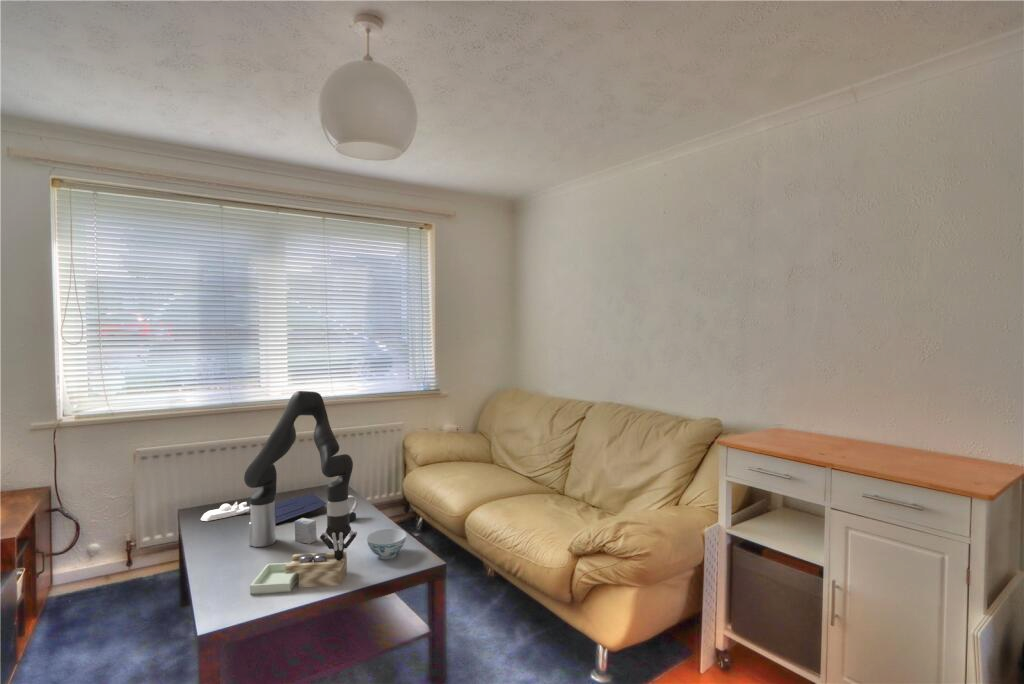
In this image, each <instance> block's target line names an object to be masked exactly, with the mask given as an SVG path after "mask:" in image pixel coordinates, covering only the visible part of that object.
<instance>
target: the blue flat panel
mask: <svg viewBox="0 0 1024 684" xmlns="http://www.w3.org/2000/svg"><path fill="white" fill-rule="evenodd" d="M323 506H327V502H326V501H324V500H323V499H321V498H319V497H318V496H317V495H316V494H314V493H311V494H307V495H306V494H304V495H300V496H297V497H294V498H289V499H287V500H284V501H281V502H278V503H275V525H276V524H279V523H281V522H284V521H287V520H289V519H292V518H295V517H298V516H300V515H304V514H306V513H309V512H312V511H315V510H317V509H320V508H322V507H323ZM248 513H249V512H248ZM249 515H250V513H249Z"/></svg>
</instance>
